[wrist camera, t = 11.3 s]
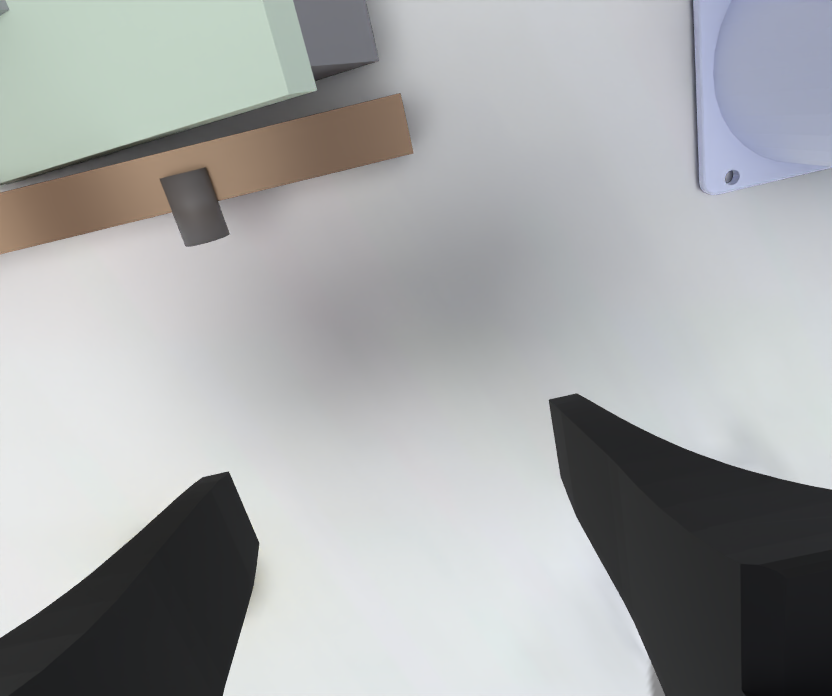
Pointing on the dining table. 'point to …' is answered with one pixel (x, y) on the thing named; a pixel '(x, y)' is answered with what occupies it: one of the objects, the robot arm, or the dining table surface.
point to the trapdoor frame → (204, 176)
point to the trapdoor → (157, 69)
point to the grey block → (3, 7)
